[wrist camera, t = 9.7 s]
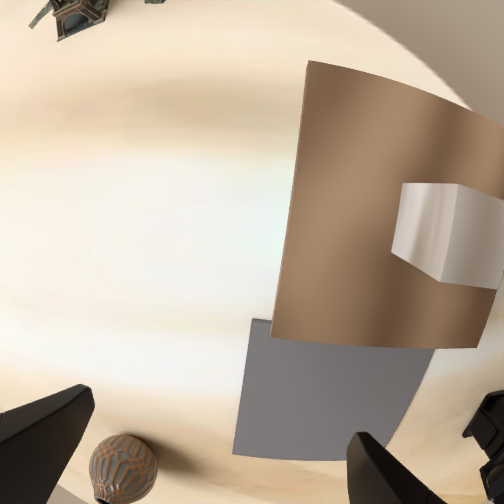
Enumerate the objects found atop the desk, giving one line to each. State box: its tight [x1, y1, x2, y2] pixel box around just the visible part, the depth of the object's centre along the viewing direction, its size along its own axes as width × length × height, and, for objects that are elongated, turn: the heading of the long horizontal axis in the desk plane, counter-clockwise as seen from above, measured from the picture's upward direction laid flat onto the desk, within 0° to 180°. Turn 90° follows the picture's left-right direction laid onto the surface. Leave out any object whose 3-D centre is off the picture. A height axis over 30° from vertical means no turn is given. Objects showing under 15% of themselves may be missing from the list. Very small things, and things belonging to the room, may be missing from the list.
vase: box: [89, 435, 157, 504], centre depth 20 cm, size 7×7×9 cm
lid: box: [270, 60, 504, 349], centre depth 10 cm, size 13×13×6 cm
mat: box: [232, 319, 434, 461], centre depth 21 cm, size 15×15×1 cm
